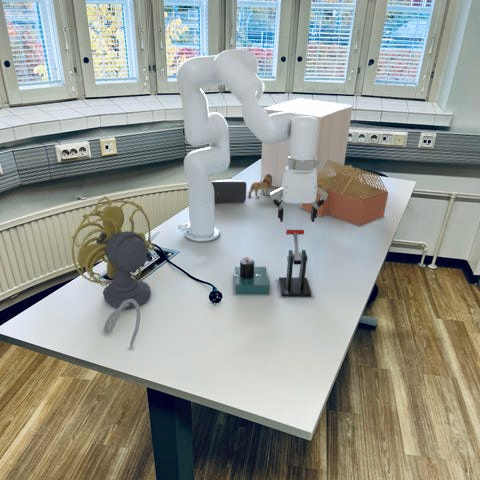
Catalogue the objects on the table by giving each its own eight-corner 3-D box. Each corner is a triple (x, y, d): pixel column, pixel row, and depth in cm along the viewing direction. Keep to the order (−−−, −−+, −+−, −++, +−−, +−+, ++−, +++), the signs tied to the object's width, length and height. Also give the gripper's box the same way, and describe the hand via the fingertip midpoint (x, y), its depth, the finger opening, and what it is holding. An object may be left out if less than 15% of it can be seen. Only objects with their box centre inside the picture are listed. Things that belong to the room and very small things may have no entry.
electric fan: (149, 274, 151) (139, 184, 134) (207, 317, 131) (205, 217, 114) (72, 301, 137) (50, 203, 120) (125, 354, 117) (108, 245, 100)
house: (301, 208, 202) (305, 163, 191) (336, 197, 215) (342, 154, 204) (351, 228, 185) (359, 181, 174) (386, 215, 197) (396, 170, 186)
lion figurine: (265, 190, 221) (266, 171, 215) (274, 193, 218) (275, 174, 213) (244, 198, 212) (245, 178, 207) (253, 201, 209) (254, 181, 204)
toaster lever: (285, 233, 145) (286, 228, 143) (303, 233, 145) (304, 228, 143) (288, 264, 140) (289, 260, 138) (306, 264, 140) (307, 260, 138)
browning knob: (254, 278, 143) (254, 263, 140) (240, 278, 143) (240, 263, 140) (253, 272, 147) (253, 257, 144) (239, 272, 147) (239, 257, 144)
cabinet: (293, 166, 253) (299, 98, 234) (342, 177, 240) (353, 105, 221) (259, 183, 229) (263, 108, 210) (312, 195, 216) (321, 116, 197)
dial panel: (233, 294, 142) (233, 284, 140) (232, 275, 152) (232, 266, 150) (268, 294, 142) (268, 284, 140) (265, 275, 152) (266, 266, 150)
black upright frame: (278, 280, 149) (281, 245, 142) (306, 280, 150) (310, 246, 143) (281, 296, 141) (284, 260, 134) (310, 296, 141) (315, 260, 134)
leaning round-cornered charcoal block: (245, 199, 210) (245, 178, 205) (246, 203, 206) (246, 182, 201) (209, 200, 209) (209, 179, 203) (209, 203, 205) (209, 182, 200)
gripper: (329, 160, 135) (322, 215, 145) (270, 160, 135) (267, 215, 145) (334, 167, 129) (327, 225, 139) (272, 167, 129) (269, 225, 138)
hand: (296, 220), depth 142 cm, fingers open, 9 cm apart
